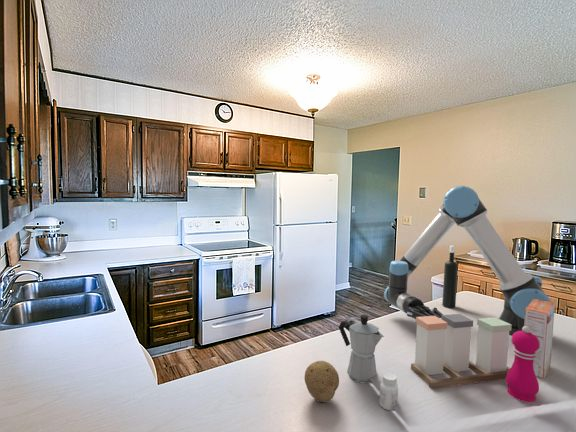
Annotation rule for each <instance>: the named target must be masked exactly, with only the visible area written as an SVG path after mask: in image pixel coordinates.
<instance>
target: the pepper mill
mask: <svg viewBox="0 0 576 432" xmlns="http://www.w3.org/2000/svg"><path fill="white" fill-rule="evenodd" d="M522 330H523V331H517V332H515V333H514V334H513V335H511V343H512V345H513V347H512V350H513V351H512V353H513V355H514V358H513V362H512V365H511V367H509V368H510V370H509V371H508V373H507V375H506V379H505V383H506V385H507V386H508V387H506V392H507V393H508V395H509V396H510V397H512V398H515V399H516V400H519V401H522V402H525V403H533V402H535V401H536V399H537V397H536V394H538V393H539V391H540V383H539V381H538V377H537V376H536V375H535V372H534V368H533V362H534V359H536V352H535V351H537V350H538V349H539V346H540V343H539V340H538V338H537V337H536V336H535V335H534V334H532V333H530V328H529V327H527V326H524V327H523V328H522Z"/></svg>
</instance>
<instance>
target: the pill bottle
mask: <svg viewBox="0 0 576 432" xmlns="http://www.w3.org/2000/svg"><path fill="white" fill-rule="evenodd" d="M381 378H382V379H381V382H380V384H379V385H380V386H379V405H380V407H381V408H382V407H383V408H382V409H384V410H386V409H387V411H395V408H394V406H397V405H398V402H399V401H398V398H399V386H398V384H397V383H398V378H397V375H396V374H394V373H392V372H383V374H382V377H381Z"/></svg>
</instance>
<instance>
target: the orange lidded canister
mask: <svg viewBox="0 0 576 432" xmlns="http://www.w3.org/2000/svg"><path fill="white" fill-rule="evenodd" d="M415 323H416V335H415V336H416V338H415V352H414V353H415V357H414V364H416V365H417V366H418V367H419V368H420V369H421V370H423V371H424V372H425V373H426V374H427V375H429V376H433V375H441V374H444V372H443V363H444V346H445V330H446V329H447V324H448V323H447V322H445V321H443V320H442V319H440V318H438V317H436V316H423V317H416V319H415Z"/></svg>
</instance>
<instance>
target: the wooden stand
mask: <svg viewBox="0 0 576 432" xmlns="http://www.w3.org/2000/svg"><path fill="white" fill-rule="evenodd" d="M510 368H511V367H509V366H507V368H506V371H501V372H493V373H487V372H485V371H484V370H482V369H481V368H479V367H478V366H476V363H473V362H472V361H470V360H469V370H470V371H472V372H473V373H475V374H472V375H462V376H461V375H460V374H459V373H457V372H455V371H453V370H452V369H451V368H449V367H448V366H447V365H445V364H444V363H443V373H445V374H446V375H447V376H449V378H448V377H447V378H440V379H434V378H432V376H431V375H427V374H426V373H425V372H424V371H423V370H421V369H420V368H419V367H418V366H417V365H416V364H415V362H414V363H412V362H411V364H410V370H411V371H412V372H413V373H414V374H416V375H417V376H418V377H419V378H420V379H421V380H423V382H424V383H426V384H427V385H428V387H429V389H430V390H433V389H441V388H448V387H456V386H463V385H468V384H469V385H470V384H477V383H484V382H492V381H500V380H506V375H507V373H508V371H509V370H510Z"/></svg>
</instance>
